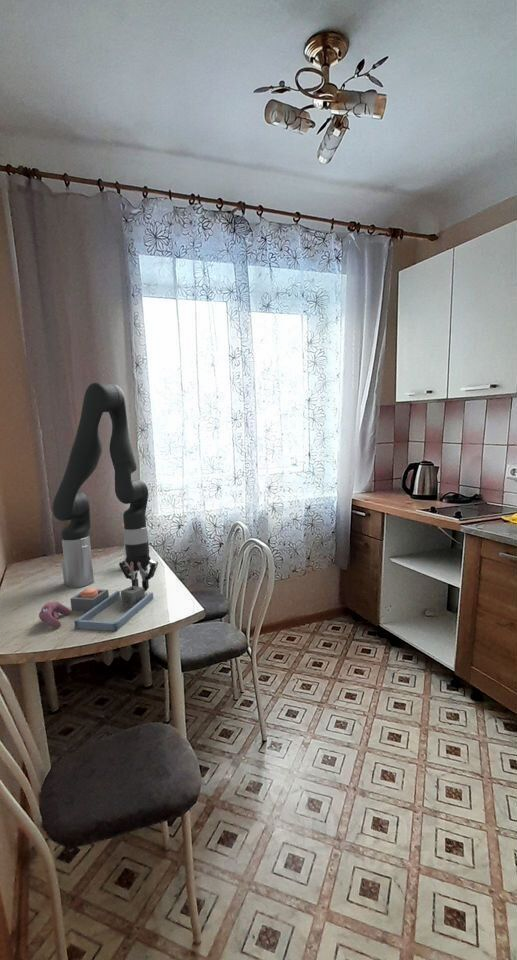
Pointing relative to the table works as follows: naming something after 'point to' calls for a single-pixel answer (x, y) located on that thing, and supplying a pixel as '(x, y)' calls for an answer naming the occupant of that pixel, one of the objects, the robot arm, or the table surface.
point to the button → (89, 593)
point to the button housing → (87, 601)
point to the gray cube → (132, 596)
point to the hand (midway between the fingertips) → (140, 590)
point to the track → (113, 626)
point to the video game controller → (53, 613)
